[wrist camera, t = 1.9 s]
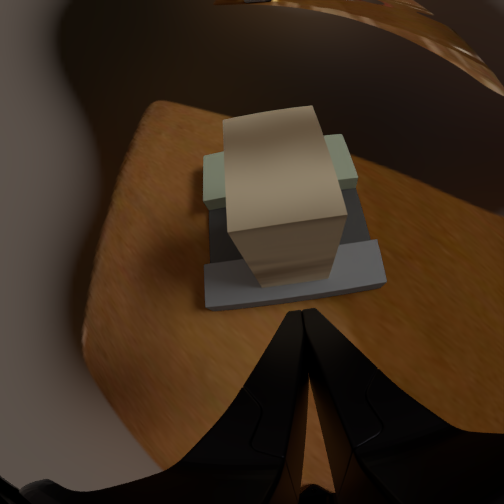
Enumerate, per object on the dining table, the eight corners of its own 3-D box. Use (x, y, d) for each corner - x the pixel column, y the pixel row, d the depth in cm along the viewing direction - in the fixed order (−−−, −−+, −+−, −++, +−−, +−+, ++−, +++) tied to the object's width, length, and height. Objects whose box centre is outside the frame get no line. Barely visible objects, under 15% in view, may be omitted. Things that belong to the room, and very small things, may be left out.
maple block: (328, 278, 20) (347, 214, 11) (262, 287, 21) (227, 232, 11) (312, 198, 23) (312, 105, 13) (253, 206, 23) (222, 120, 14)
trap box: (380, 287, 21) (386, 281, 19) (213, 311, 23) (205, 307, 21) (340, 147, 26) (341, 134, 24) (209, 167, 28) (203, 155, 26)
